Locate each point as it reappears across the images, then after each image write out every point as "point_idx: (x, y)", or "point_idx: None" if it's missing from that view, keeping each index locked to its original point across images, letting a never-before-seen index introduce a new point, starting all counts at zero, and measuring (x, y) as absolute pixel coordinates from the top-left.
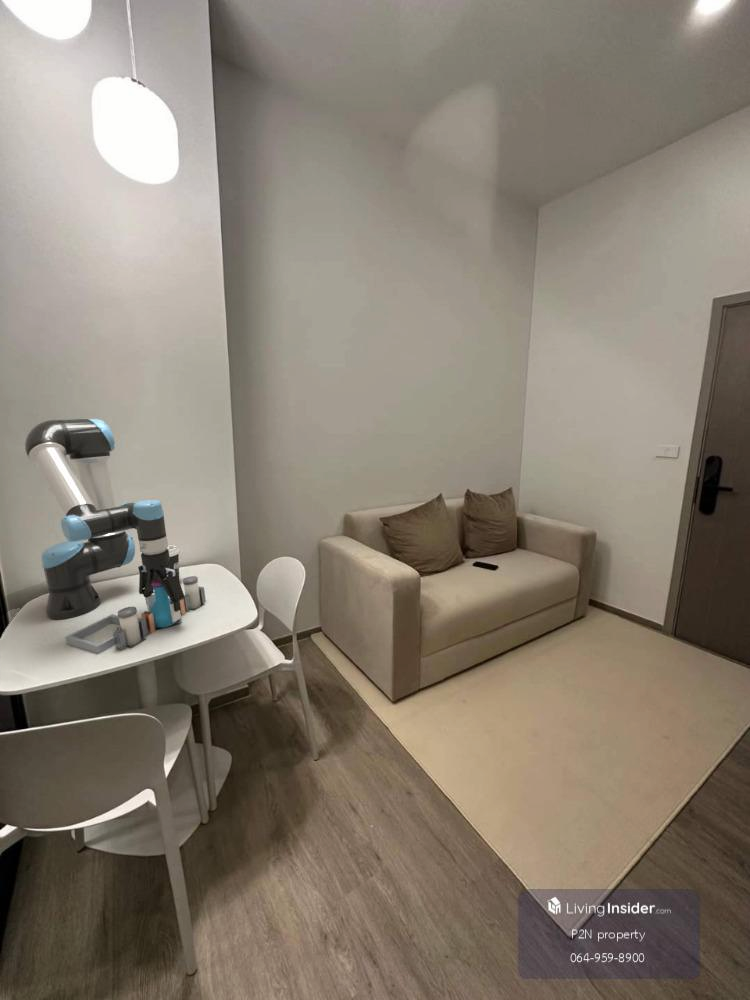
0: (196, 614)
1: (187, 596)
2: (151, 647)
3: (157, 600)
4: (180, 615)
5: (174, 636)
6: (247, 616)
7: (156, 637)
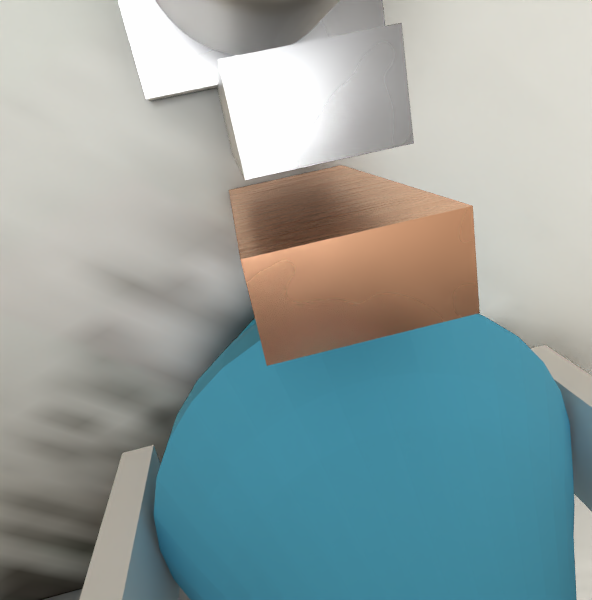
0: (435, 68)
1: (404, 55)
2: None
3: None
4: (572, 366)
5: None
6: None
7: None
